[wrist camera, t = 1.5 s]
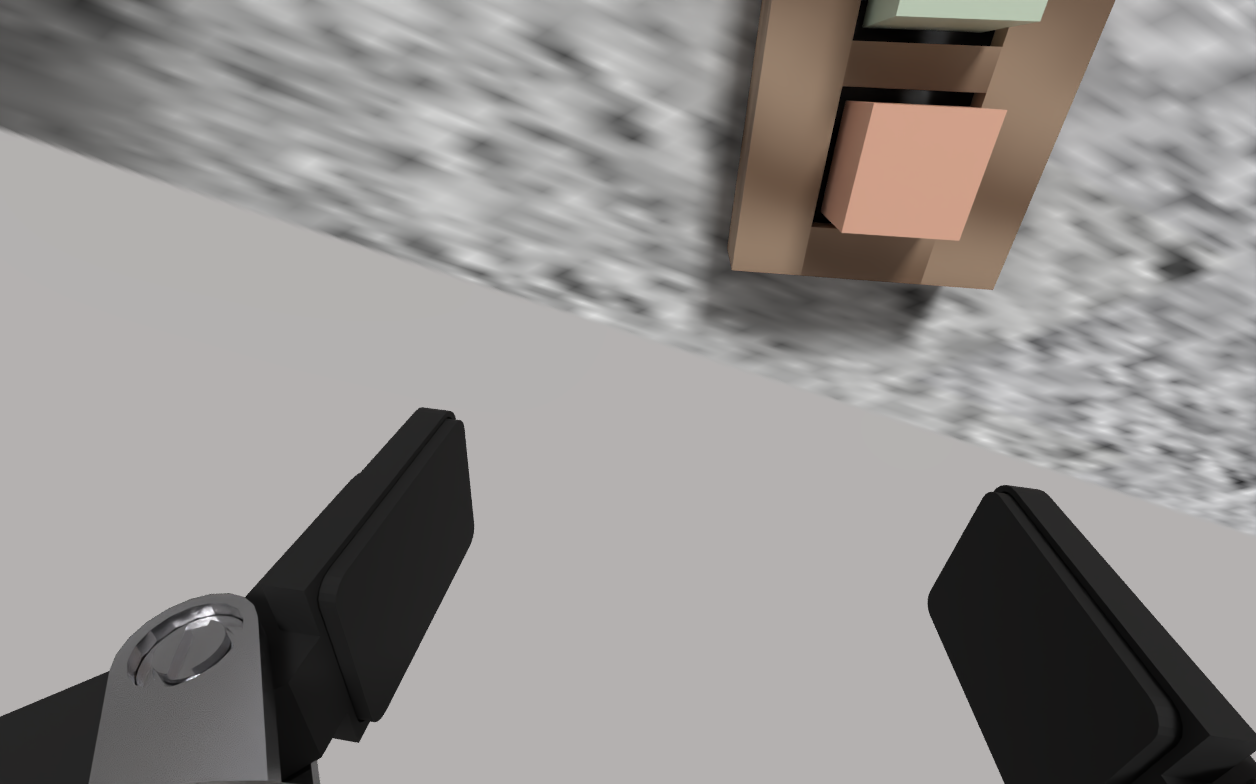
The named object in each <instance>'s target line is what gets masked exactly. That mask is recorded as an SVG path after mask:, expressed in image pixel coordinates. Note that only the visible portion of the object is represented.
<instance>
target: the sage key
mask: <svg viewBox="0 0 1256 784" xmlns="http://www.w3.org/2000/svg"><path fill="white" fill-rule="evenodd" d="M1047 2H1048V0H868V4H867V8H866V12H865V17H864V21H863V26H862V28H882V29H907V30H931V31H956V32H986V31H992V30H997V29H1003V28H1008V27H1013V26H1019V25H1024V24H1030V23H1035V22H1040V21H1041V18H1042V15H1043V13H1044V10H1045V7H1046V4H1047Z"/></svg>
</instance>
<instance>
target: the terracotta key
mask: <svg viewBox="0 0 1256 784" xmlns="http://www.w3.org/2000/svg"><path fill="white" fill-rule="evenodd" d="M1006 113H1007V110H1002V109H989V108H976V107H963V106H946V105H926V104H906V103H886V102H866V101H847V100H846V101H845V106H844V110H843V114H842V119H841V123H840V128H839V132H838V137H837V141H836V145H835V150H834V154H833V159H832V163H831V168H830V172H829V176H828V181H827V185H826V190H825V194H824V199H823V203H822V207H821V213H822V214H823V215H824V216H825V217H826V218H827V219H828V220H829V221H830V222H831V223H832V224H833V225H834V226H835V227H836V228H837V229H838V230H839V231H840V232H841V233H853V234H867V235H882V236H896V237H911V238H926V239H940V240H955V241H959V240H960V238H961V235H962V232H963V229H964V227H965V224H966V221H967V219H968V216H969V213H970V210H971V208H972V205H973V202H974V200H975V197H976V194H977V191H978V189H979V186H980V183H981V181H982V178H983V175H984V172H985V170H986V167H987V164H988V162H989V159H990V156H991V153H992V151H993V148H994V145H995V143H996V140H997V137H998V135H999V132H1000V129H1001V126H1002V124H1003V121H1004V118H1005V116H1006Z"/></svg>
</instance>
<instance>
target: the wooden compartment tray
mask: <svg viewBox="0 0 1256 784" xmlns="http://www.w3.org/2000/svg"><path fill="white" fill-rule="evenodd" d="M1114 2H1115V0H1048V2H1047V4H1046V7H1045V10H1044V13H1043V15H1042V18H1041V21H1040V22H1035V23H1030V24H1024V25H1019V26H1013V27H1008V28H1003V29H997V30H995V33H994V36H993V39H992V42H991V45H990V46H970V45H946V44H922V43H898V42H875V41H852V40H853V35H854V31H855V26H856V22H857V17H858V13H859V8H860V3H861V0H762V4H761V12H760V19H759V26H758V33H757V40H756V47H755V54H754V61H753V68H752V75H751V82H750V90H749V97H748V104H747V111H746V118H745V125H744V132H743V139H742V146H741V153H740V161H739V168H738V175H737V182H736V189H735V196H734V203H733V210H732V217H731V224H730V232H729V239H728V246H727V249H728V254H729V259H730V264H731V269H732V270H735V271H748V272H762V273H775V274H789V275H802V276H815V277H829V278H842V279H855V280H869V281H882V282H895V283H909V284H922V285H936V286H949V287H962V288H976V289H989V290H993V289H994V286H995V284H996V281H997V279H998V277H999V274H1000V272H1001V270H1002V267H1003V265H1004V263H1005V260H1006V258H1007V255H1008V253H1009V251H1010V248H1011V246H1012V244H1013V241H1014V239H1015V236H1016V234H1017V232H1018V229H1019V227H1020V225H1021V222H1022V220H1023V218H1024V215H1025V213H1026V210H1027V208H1028V206H1029V203H1030V201H1031V199H1032V196H1033V194H1034V192H1035V189H1036V187H1037V184H1038V182H1039V180H1040V177H1041V175H1042V173H1043V170H1044V168H1045V165H1046V163H1047V161H1048V158H1049V156H1050V154H1051V151H1052V149H1053V147H1054V144H1055V142H1056V139H1057V137H1058V135H1059V132H1060V130H1061V128H1062V125H1063V123H1064V121H1065V118H1066V116H1067V113H1068V111H1069V109H1070V106H1071V104H1072V102H1073V99H1074V97H1075V95H1076V92H1077V90H1078V87H1079V85H1080V83H1081V80H1082V78H1083V76H1084V73H1085V71H1086V68H1087V66H1088V64H1089V61H1090V59H1091V57H1092V54H1093V52H1094V50H1095V47H1096V45H1097V42H1098V40H1099V38H1100V35H1101V33H1102V31H1103V28H1104V26H1105V24H1106V21H1107V19H1108V16H1109V14H1110V12H1111V9H1112V7H1113V5H1114ZM842 86H847V87H867V88H888V89H909V90H929V91H950V92H971V93H974V96H973V99H972V102H971V105H970V107H976V108H989V109H1002V110H1007V113H1006V116H1005V118H1004V121H1003V124H1002V126H1001V129H1000V132H999V135H998V137H997V140H996V143H995V145H994V148H993V151H992V153H991V156H990V159H989V162H988V164H987V167H986V170H985V172H984V175H983V178H982V181H981V183H980V186H979V189H978V191H977V194H976V197H975V200H974V202H973V205H972V208H971V210H970V213H969V216H968V219H967V221H966V224H965V227H964V229H963V232H962V235H961V238H960V240H959V241H955V240H940V239H926V238H911V237H896V236H882V235H867V234H853V233H841V232H840V231H839V230H838V229H837V228H836V227H835V226H834V225H833V224H828V223H813V217H814V213H815V208H816V203H817V199H818V194H819V190H820V185H821V181H822V176H823V172H824V167H825V163H826V158H827V153H828V149H829V144H830V140H831V135H832V131H833V126H834V122H835V117H836V113H837V108H838V103H839V99H840V94H841V90H842Z"/></svg>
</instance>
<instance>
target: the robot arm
mask: <svg viewBox="0 0 1256 784" xmlns="http://www.w3.org/2000/svg"><path fill="white" fill-rule="evenodd" d="M473 534H474V519H473V509H472V499H471V489H470V479H469V469H468V459H467V450H466V439H465V430H464V424H463V422H462V421H461V420H456V418H455V415H454V413H453V412H451V411H446V410H438V409H430V408H423V407H422V408H419V409H418V410H416V411H415V413H414V414H413V415H412V416H411V417H410V418H409V419H408V420H407V421H406V423H405V424H404V425H403V426H402V427H401V428H400V429H399V430H398V431H397V433H396V434H395V435H394V436H393V437H392V438H391V439H390V440H389V441H388V443H387V444H386V445H385V446H384V447H383V448H382V449H381V451H380V452H379V453H378V454H377V455H376V456H375V457H374V458H373V459H372V460H371V462H370V463H369V464H368V465H367V466H366V467H365V468H364V470H362V472H361V473H359V474H357V475H356V476H355V477H354V478H353V479H351V480H350V482H349V483H348V484H347V485H346V486H345V487H344V488H343V489H342V490H341V492H340V493H339V494H338V495H337V496H336V497H335V498H334V499H333V500H332V502H331V503H330V504H329V505H328V506H327V507H326V508H325V509H324V510H323V511H322V513H321V514H320V515H319V516H318V517H317V518H316V519H315V520H314V521H313V523H312V524H311V525H310V526H309V527H308V528H307V529H306V531H305V532H304V533H303V534H302V535H301V536H300V537H299V538H298V539H297V540H296V541H295V543H294V544H293V545H292V546H291V547H290V548H289V549H288V550H287V551H286V552H285V554H284V555H283V556H282V557H281V558H280V559H279V560H278V561H277V562H276V563H275V565H274V566H273V567H272V568H271V569H270V570H269V571H268V572H267V574H266V575H265V576H264V577H263V578H262V579H261V580H260V581H259V582H258V583H257V585H256V586H255V587H254V588H253V589H252V590H251V591H250V592H249V593H248V595H247V596H246V597H242V596H238V595H234V594H230V593H227V594H226V593H225V594H209V595H205V596H201V597H197V598H193V599H190V600H187V601H185V602H183V603H180V604H178V605H176V606H173V607H171V608H169V609H167V610H165V611H164V612H162V613H161V614H159V615H157V616H156V617H154V618H152V619H151V620H149V621H148V622H146V623H145V624H144V625H143V626H142V627H141V628H140V629H138V630H137V631H136V632H135V633H134V634H133V635H132V636H130V637H129V639H128V640H127V641H126V642H125V644H124V645H123V646H122V648H121V649H120V650H119V651H118V653H117V654H116V656H115V658H114V661H113V663H112V666H111V669H110V671H108V672H106V673H104V674H101V675H99V676H96V677H94V678H92V679H89V680H87V681H85V682H82V683H80V684H78V685H75V686H72V687H70V688H68V689H65V690H63V691H61V692H58V693H56V694H53V695H51V696H49V697H46V698H44V699H41V700H39V701H37V702H34V703H32V704H30V705H27V706H25V707H23V708H20V709H18V710H15V711H13V712H10V713H8V714H6V715H3V716H1V717H0V784H320V780H319V772H318V764H317V760H318V759H319V758H321V757H322V755H323V754H324V752H325V750H326V748H327V747H328V745H329V743H330V741H331V740H332V738H335V739H341V740H346V741H352V742H358V743H359V741H360V739H361V738H362V735H363V734H364V732H365V730H366V728H367V726H368V724H369V722H370V721H371V722H377V721H379V720H380V719H381V717H382V716H383V715H384V713H385V711H386V710H387V708H388V706H389V704H390V702H391V700H392V698H393V696H394V694H395V692H396V690H397V688H398V686H399V684H400V682H401V680H402V678H403V676H404V674H405V672H406V670H407V668H408V667H409V665H410V663H411V661H412V659H413V657H414V655H415V653H416V651H417V649H418V647H419V645H420V643H421V641H422V639H423V637H424V635H425V633H426V631H427V629H428V627H429V625H430V623H431V621H432V619H433V617H434V615H435V613H436V611H437V609H438V607H439V605H440V604H441V602H442V600H443V597H444V596H445V594H446V592H447V590H448V588H449V586H450V584H451V582H452V580H453V578H454V576H455V574H456V572H457V570H458V568H459V566H460V564H461V562H462V560H463V558H464V556H465V554H466V552H467V550H468V548H469V546H470V544H471V542H472V538H473ZM928 610H929V613H930V616H931V618H932V620H933V623H934V625H935V628H936V630H937V632H938V634H939V637H940V639H941V641H942V643H943V645H944V648H945V650H946V652H947V655H948V657H949V659H950V661H951V664H952V666H953V668H954V670H955V673H956V675H957V677H958V679H959V682H960V684H961V686H962V688H963V691H964V693H965V695H966V698H967V700H968V702H969V704H970V707H971V709H972V711H973V713H974V716H975V718H976V720H977V722H978V725H979V727H980V729H981V731H982V734H983V736H984V738H985V740H986V742H987V745H988V747H989V749H990V752H991V754H992V756H993V758H994V761H995V763H996V765H997V768H998V769H999V772H1000V774H1001V776H1002V779H1003V781H1004V783H1005V784H1256V762H1255V761H1254V760H1253V758H1252V757H1251V756H1250V755H1251V754H1252V753H1254V752H1255V751H1256V733H1255V732H1254V731H1253V730H1252V728H1251V727H1250V726H1249V725H1248V724H1247V723H1246V722H1245V720H1244V719H1243V718H1242V717H1241V716H1240V715H1239V714H1238V712H1237V711H1236V710H1235V709H1234V708H1233V707H1232V705H1231V704H1230V703H1229V702H1228V701H1227V700H1226V699H1225V697H1224V696H1223V695H1222V694H1221V693H1220V692H1219V691H1218V689H1217V688H1216V687H1215V686H1214V685H1213V684H1212V683H1211V681H1210V680H1209V679H1208V678H1207V677H1206V676H1205V674H1204V673H1203V672H1202V671H1201V670H1200V669H1199V668H1198V666H1197V665H1196V664H1195V663H1194V662H1193V661H1192V660H1191V658H1190V657H1189V656H1188V655H1187V654H1186V653H1185V651H1184V650H1183V649H1182V648H1181V647H1180V646H1179V645H1178V643H1177V642H1176V641H1175V640H1174V639H1173V638H1172V637H1171V636H1170V635H1169V633H1168V632H1167V631H1166V630H1165V629H1164V627H1163V626H1162V625H1161V624H1160V623H1159V622H1158V621H1157V619H1156V618H1155V617H1154V616H1153V615H1152V614H1151V612H1150V611H1149V610H1148V609H1147V608H1146V607H1145V606H1144V605H1143V603H1142V602H1141V601H1140V600H1139V599H1138V597H1137V596H1136V595H1135V594H1134V593H1133V592H1132V591H1131V589H1130V588H1129V587H1128V586H1127V585H1126V584H1125V583H1124V581H1123V580H1122V579H1121V578H1120V577H1119V576H1118V575H1117V573H1116V572H1115V571H1114V570H1113V569H1112V568H1111V567H1110V565H1109V564H1108V563H1107V562H1106V561H1105V560H1104V558H1103V557H1102V556H1101V555H1100V554H1099V553H1098V552H1097V550H1096V549H1095V548H1094V547H1093V546H1092V545H1091V544H1090V542H1089V541H1088V540H1087V539H1086V538H1085V537H1084V535H1083V534H1082V533H1081V532H1080V531H1079V530H1078V529H1077V528H1076V526H1075V525H1074V524H1073V523H1072V522H1071V521H1070V519H1069V518H1068V517H1067V516H1066V515H1065V514H1064V513H1063V511H1062V510H1061V509H1060V508H1059V507H1058V506H1057V504H1056V503H1055V502H1054V501H1053V500H1052V499H1051V498H1050V496H1048V495H1047V494H1046V493H1045V492H1044V491H1041V490H1038V489H1031V488H1024V487H1016V486H1009V485H1003V486H1000V487H998V488H996V489H995V491H994V492H989V493H987V494H985V496H984V497H983V498H982V500H981V502H980V504H979V506H978V507H977V509H976V511H975V513H974V514H973V516H972V518H971V520H970V522H969V523H968V525H967V527H966V529H965V530H964V532H963V534H962V536H961V538H960V539H959V541H958V543H957V545H956V547H955V548H954V550H953V552H952V554H951V556H950V557H949V559H948V561H947V562H946V564H945V566H944V568H943V570H942V571H941V573H940V575H939V577H938V578H937V580H936V582H935V584H934V586H933V587H932V589H931V591H930V593H929V596H928Z"/></svg>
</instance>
